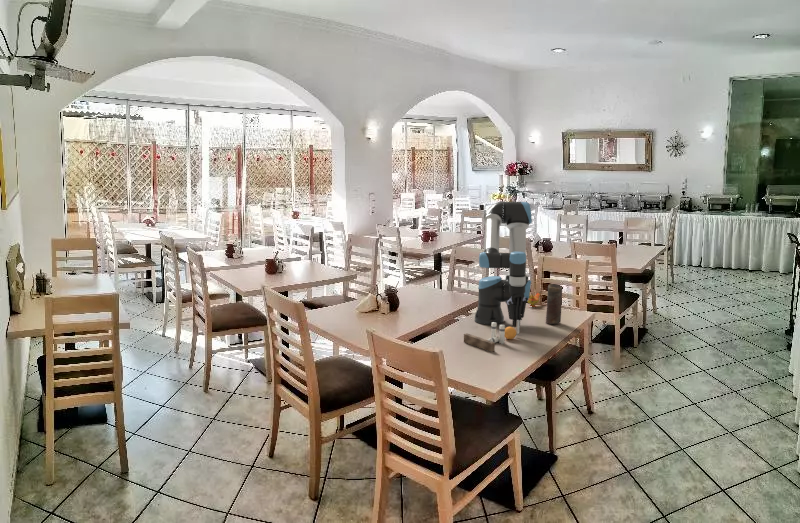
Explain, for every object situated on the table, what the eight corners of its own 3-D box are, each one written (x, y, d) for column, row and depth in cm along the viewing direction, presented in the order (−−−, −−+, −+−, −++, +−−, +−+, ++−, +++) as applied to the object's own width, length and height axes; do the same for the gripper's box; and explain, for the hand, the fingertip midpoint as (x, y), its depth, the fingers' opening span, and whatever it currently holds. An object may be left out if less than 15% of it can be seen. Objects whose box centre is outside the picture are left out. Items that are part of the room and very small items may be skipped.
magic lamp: (545, 303, 346) (546, 285, 344) (532, 310, 332) (533, 291, 330) (534, 302, 350) (535, 283, 348) (521, 308, 336) (521, 289, 334)
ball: (512, 332, 284) (506, 341, 282) (505, 323, 282) (498, 333, 280) (520, 332, 279) (514, 342, 276) (513, 324, 277) (506, 333, 275)
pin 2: (498, 343, 273) (498, 325, 272) (500, 342, 275) (500, 324, 274) (503, 344, 272) (503, 326, 271) (505, 342, 274) (505, 325, 273)
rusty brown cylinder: (559, 321, 308) (561, 284, 305) (562, 325, 301) (563, 287, 298) (544, 321, 309) (546, 283, 306) (546, 325, 302) (548, 286, 298)
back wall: (463, 342, 276) (463, 334, 275) (466, 341, 277) (467, 333, 276) (491, 352, 261) (491, 343, 260) (494, 351, 262) (494, 342, 262)
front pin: (500, 340, 278) (487, 343, 273) (500, 335, 278) (486, 338, 273) (504, 341, 276) (490, 344, 271) (504, 336, 276) (490, 339, 271)
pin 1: (490, 340, 278) (490, 323, 276) (492, 339, 280) (492, 321, 278) (495, 341, 276) (495, 323, 275) (497, 340, 278) (497, 322, 277)
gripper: (520, 281, 285) (519, 328, 289) (501, 285, 278) (500, 333, 282) (532, 284, 279) (531, 332, 283) (513, 287, 272) (512, 337, 276)
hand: (516, 333), depth 283 cm, fingers closed
